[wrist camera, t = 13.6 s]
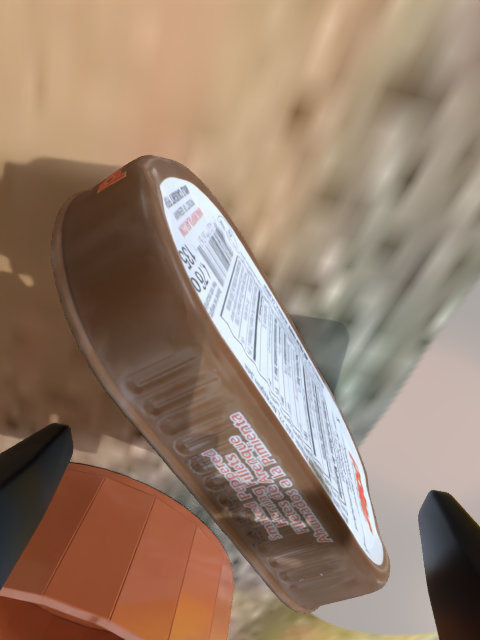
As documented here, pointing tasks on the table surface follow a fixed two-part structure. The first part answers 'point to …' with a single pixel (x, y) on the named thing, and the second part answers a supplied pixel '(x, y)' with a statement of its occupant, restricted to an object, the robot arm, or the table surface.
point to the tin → (218, 378)
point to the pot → (117, 567)
